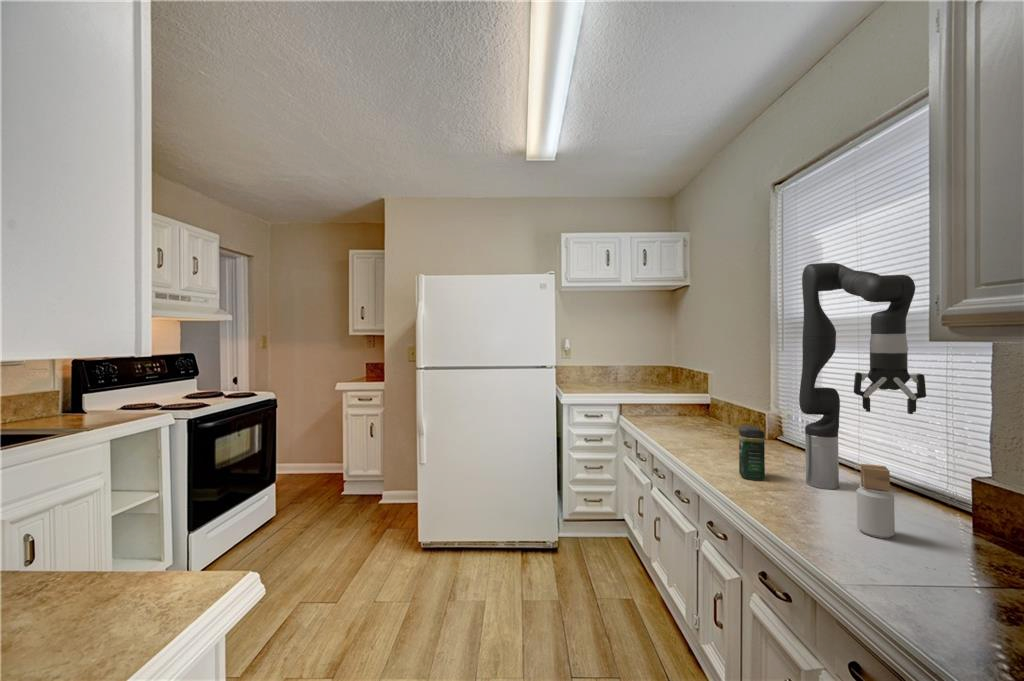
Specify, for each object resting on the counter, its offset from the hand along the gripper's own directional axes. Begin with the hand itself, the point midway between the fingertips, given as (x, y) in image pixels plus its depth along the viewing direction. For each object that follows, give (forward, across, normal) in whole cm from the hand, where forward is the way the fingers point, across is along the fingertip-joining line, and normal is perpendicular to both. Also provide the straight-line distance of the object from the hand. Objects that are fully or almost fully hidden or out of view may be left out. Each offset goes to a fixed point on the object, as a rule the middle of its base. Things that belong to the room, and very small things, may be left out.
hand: (888, 412), depth 115 cm
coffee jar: (+31, +33, -30) cm, 55 cm away
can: (+31, +4, +6) cm, 31 cm away
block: (+18, +4, +6) cm, 20 cm away
